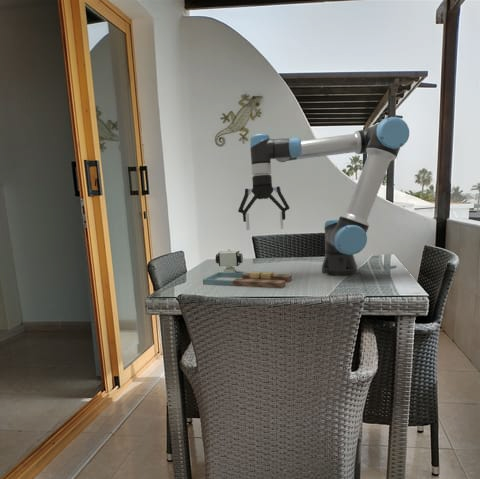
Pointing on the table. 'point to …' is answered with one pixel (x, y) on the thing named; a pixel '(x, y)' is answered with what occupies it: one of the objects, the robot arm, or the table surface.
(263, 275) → the chip
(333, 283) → the table surface
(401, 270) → the table surface
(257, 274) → the chip
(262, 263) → the table surface
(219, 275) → the tray
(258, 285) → the slot board
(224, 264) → the pneumatic valve
